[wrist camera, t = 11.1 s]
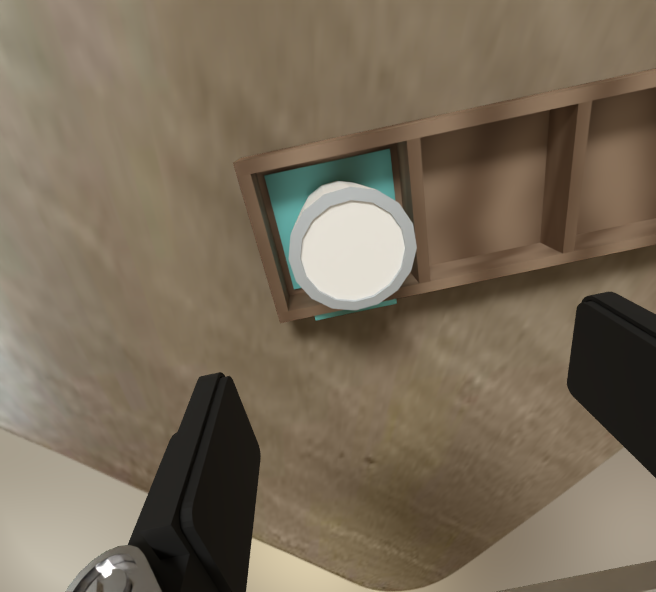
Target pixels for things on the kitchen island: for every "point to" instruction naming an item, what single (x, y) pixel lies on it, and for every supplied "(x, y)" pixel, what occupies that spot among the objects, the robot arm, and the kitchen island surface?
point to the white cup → (351, 246)
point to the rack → (479, 186)
